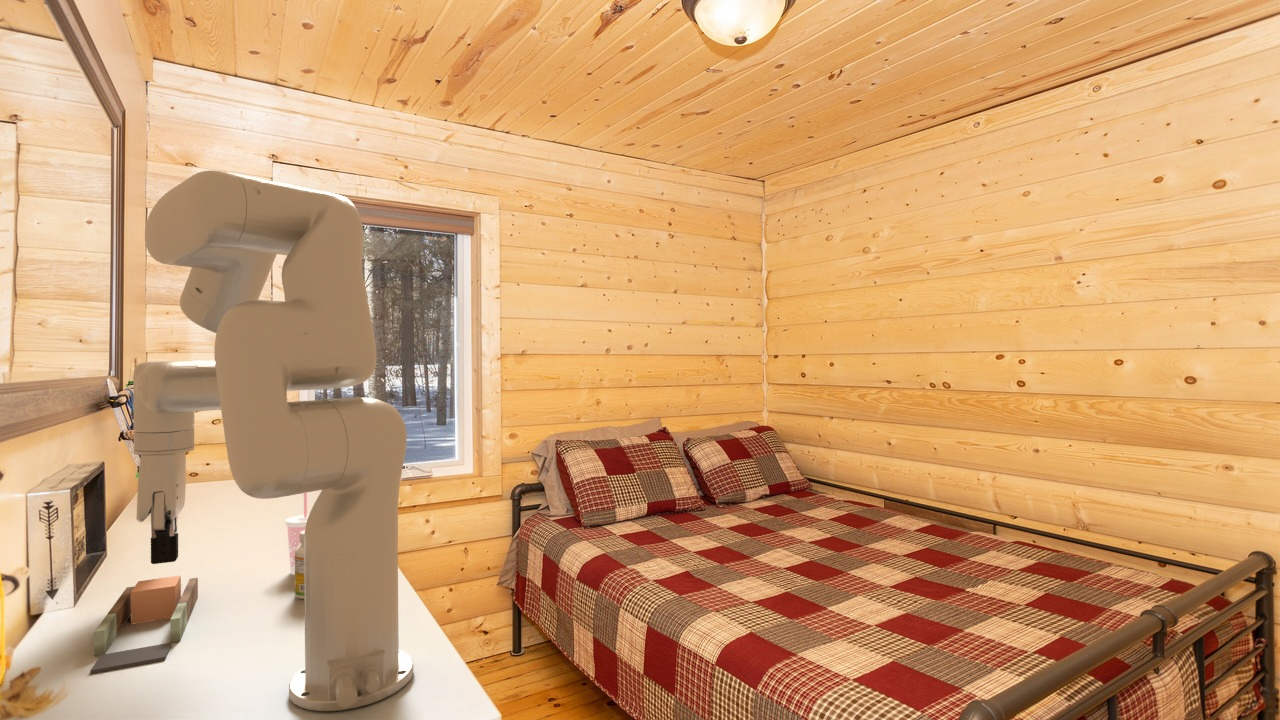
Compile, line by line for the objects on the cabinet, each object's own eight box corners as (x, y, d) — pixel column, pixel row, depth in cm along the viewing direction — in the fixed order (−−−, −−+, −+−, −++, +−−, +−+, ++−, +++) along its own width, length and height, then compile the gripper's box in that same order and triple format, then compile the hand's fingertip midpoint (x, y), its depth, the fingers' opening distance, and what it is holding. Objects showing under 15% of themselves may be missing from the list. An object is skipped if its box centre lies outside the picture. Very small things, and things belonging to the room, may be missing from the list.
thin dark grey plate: (165, 660, 78) (165, 656, 78) (90, 673, 75) (90, 670, 75) (171, 645, 82) (171, 642, 82) (100, 658, 79) (100, 654, 79)
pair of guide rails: (180, 641, 83) (179, 617, 83) (94, 656, 79) (94, 631, 79) (197, 597, 99) (197, 577, 99) (126, 608, 95) (126, 587, 94)
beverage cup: (325, 573, 109) (325, 490, 109) (284, 578, 107) (283, 493, 107) (325, 562, 115) (325, 484, 115) (286, 568, 112) (285, 487, 112)
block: (175, 617, 91) (175, 585, 91) (131, 625, 89) (130, 592, 89) (181, 606, 96) (180, 575, 96) (138, 612, 93) (138, 581, 93)
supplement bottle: (326, 585, 104) (326, 524, 104) (339, 593, 100) (338, 530, 100) (290, 593, 100) (289, 530, 100) (301, 603, 96) (300, 537, 96)
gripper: (144, 437, 104) (144, 551, 104) (122, 450, 91) (122, 580, 91) (200, 434, 108) (200, 545, 108) (187, 447, 94) (187, 572, 95)
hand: (164, 561), depth 99 cm, fingers closed
